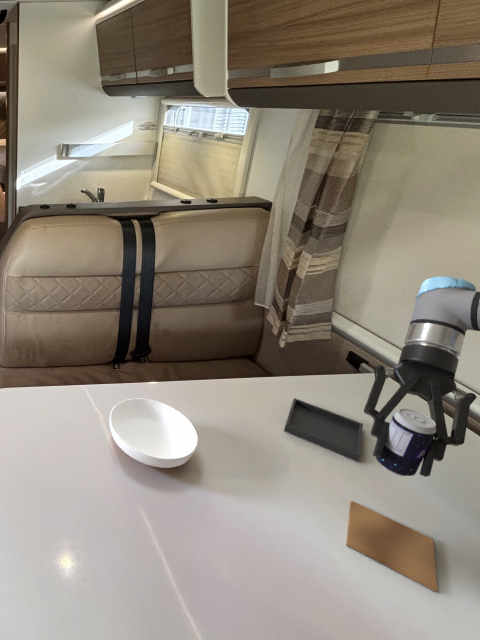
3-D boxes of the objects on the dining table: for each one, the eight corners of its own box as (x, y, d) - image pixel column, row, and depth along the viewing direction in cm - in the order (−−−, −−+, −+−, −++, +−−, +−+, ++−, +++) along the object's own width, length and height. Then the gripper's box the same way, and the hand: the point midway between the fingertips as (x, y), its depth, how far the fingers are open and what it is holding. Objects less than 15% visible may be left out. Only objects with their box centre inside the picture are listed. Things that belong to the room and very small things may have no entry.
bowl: (153, 409, 115) (156, 391, 112) (212, 466, 98) (218, 445, 95) (91, 427, 109) (93, 408, 107) (142, 490, 92) (146, 469, 90)
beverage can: (412, 485, 78) (437, 434, 74) (371, 465, 82) (393, 417, 78) (415, 467, 81) (440, 418, 77) (376, 450, 86) (397, 402, 81)
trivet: (431, 540, 81) (433, 538, 81) (436, 592, 73) (437, 590, 73) (350, 502, 89) (351, 500, 89) (346, 545, 81) (347, 543, 80)
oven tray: (360, 429, 107) (363, 423, 106) (357, 461, 98) (360, 455, 97) (292, 403, 116) (294, 397, 115) (283, 430, 107) (285, 424, 106)
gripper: (495, 376, 80) (467, 496, 75) (363, 339, 92) (332, 441, 87) (513, 365, 74) (484, 494, 69) (370, 328, 86) (337, 436, 81)
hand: (400, 464), depth 78 cm, fingers closed on beverage can, 6 cm apart
